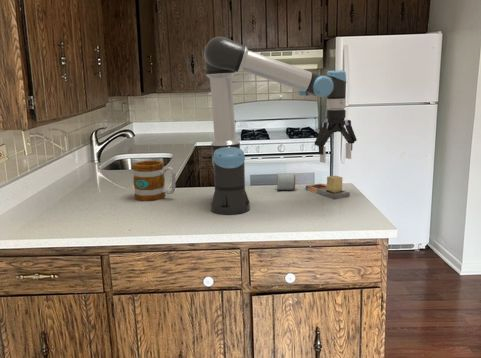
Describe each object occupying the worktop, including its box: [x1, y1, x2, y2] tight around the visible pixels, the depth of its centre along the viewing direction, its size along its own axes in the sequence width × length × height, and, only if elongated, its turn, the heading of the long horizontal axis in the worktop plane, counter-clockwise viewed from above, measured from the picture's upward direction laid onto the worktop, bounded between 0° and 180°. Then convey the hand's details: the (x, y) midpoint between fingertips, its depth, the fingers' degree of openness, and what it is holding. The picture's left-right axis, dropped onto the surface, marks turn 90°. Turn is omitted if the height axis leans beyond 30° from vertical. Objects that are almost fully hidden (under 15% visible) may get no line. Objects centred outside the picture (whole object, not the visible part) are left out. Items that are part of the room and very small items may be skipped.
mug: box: [131, 160, 176, 202], centre depth 199 cm, size 20×14×15 cm
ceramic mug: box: [276, 172, 296, 191], centre depth 211 cm, size 11×8×8 cm
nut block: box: [326, 175, 343, 194], centre depth 197 cm, size 4×4×8 cm
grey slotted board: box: [305, 183, 351, 200], centre depth 202 cm, size 8×20×2 cm, turn 28°
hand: (335, 160), depth 195 cm, fingers open, 13 cm apart
